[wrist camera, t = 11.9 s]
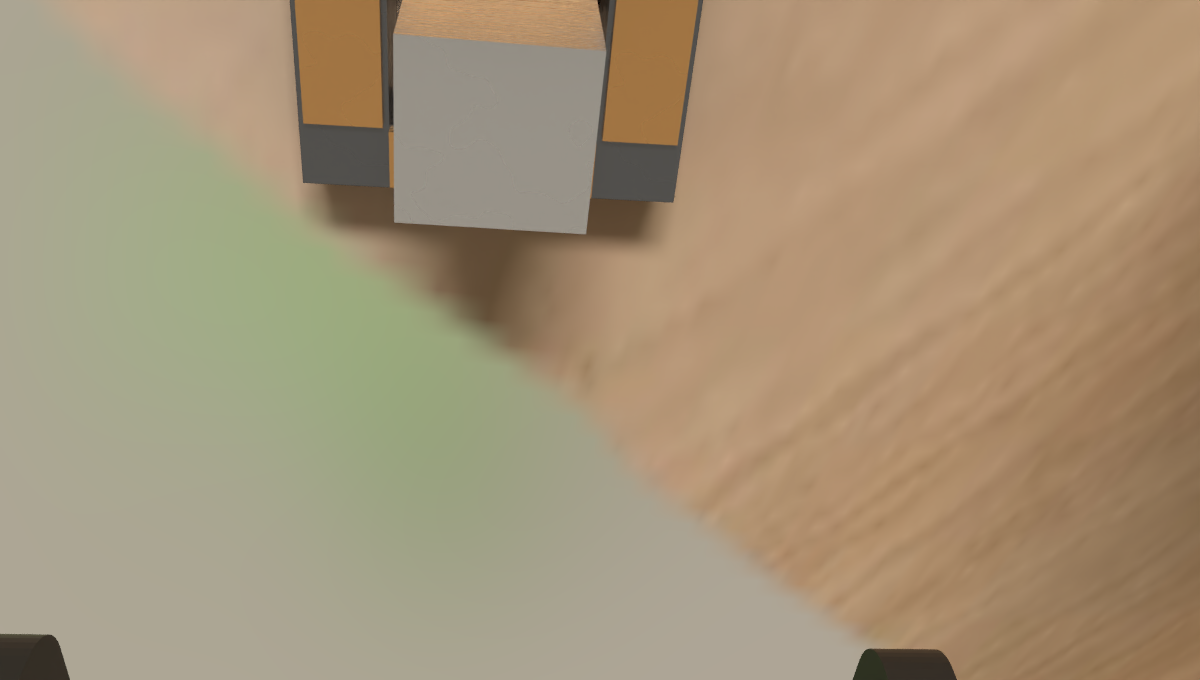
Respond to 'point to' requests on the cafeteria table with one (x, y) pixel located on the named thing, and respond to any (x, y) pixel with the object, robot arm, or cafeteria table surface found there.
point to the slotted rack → (366, 100)
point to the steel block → (496, 112)
